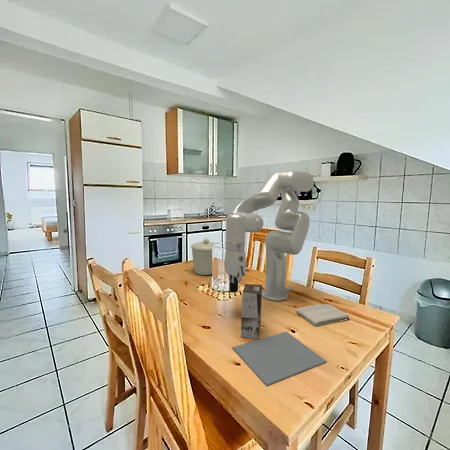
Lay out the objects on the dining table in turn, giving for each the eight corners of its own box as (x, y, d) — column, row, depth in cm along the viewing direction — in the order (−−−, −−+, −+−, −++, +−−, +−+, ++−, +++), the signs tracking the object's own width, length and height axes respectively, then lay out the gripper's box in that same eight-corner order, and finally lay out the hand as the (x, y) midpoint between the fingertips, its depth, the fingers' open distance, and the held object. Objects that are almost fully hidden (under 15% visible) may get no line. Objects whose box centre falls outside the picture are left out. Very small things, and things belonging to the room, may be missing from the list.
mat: (286, 332, 93) (286, 331, 93) (326, 362, 77) (326, 361, 77) (232, 348, 83) (232, 347, 83) (266, 386, 67) (266, 384, 67)
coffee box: (259, 339, 88) (261, 294, 86) (240, 337, 90) (241, 292, 88) (260, 326, 97) (262, 284, 95) (243, 324, 98) (245, 282, 96)
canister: (226, 273, 159) (227, 239, 156) (204, 280, 146) (205, 242, 143) (206, 266, 171) (207, 234, 168) (184, 272, 158) (184, 238, 155)
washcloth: (351, 320, 104) (351, 313, 104) (315, 328, 97) (316, 320, 97) (328, 308, 115) (329, 301, 115) (295, 314, 108) (295, 307, 108)
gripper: (253, 249, 96) (251, 296, 99) (234, 241, 110) (232, 284, 112) (236, 251, 93) (234, 300, 95) (217, 243, 106) (216, 286, 108)
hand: (233, 291), depth 104 cm, fingers closed
